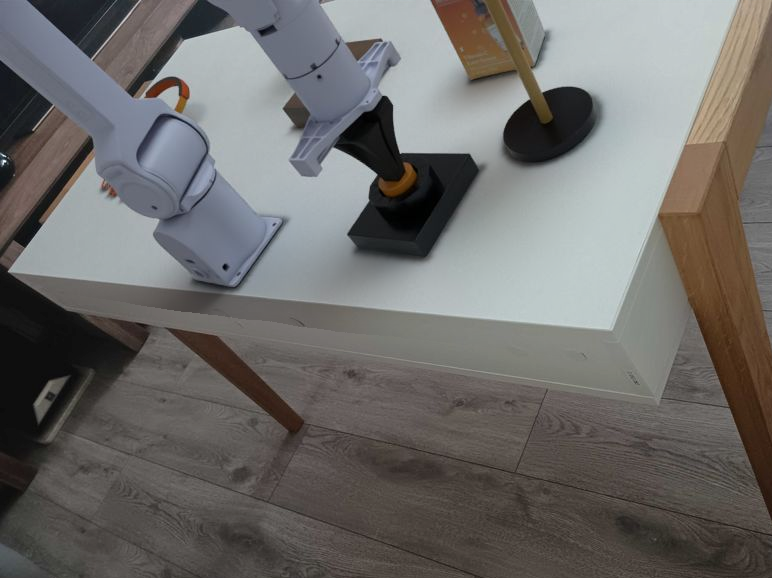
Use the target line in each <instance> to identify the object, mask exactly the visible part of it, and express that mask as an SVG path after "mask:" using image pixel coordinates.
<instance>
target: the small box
mask: <svg viewBox="0 0 772 578" xmlns="http://www.w3.org/2000/svg"><path fill="white" fill-rule="evenodd" d="M429 1H430V3H431V5H432V7H433V8H434V11H435V13H436V15H437V17H438V19H439V21H440V23H441V25H442V27H443V29H444V31H445V32H446V35H447V37H448V39H449V41H450V43H451V45H452V47H453V49H454V50H455V52H456V55H457V57H458V58H459V61H460V62H461V65H462V66H463V69H464V70H465V72H466V74H467V76H468V79H469V80H476V79H479V78H484V77H488V76H491V75H492V76H493V75H496V74H502V73H506V72H510V71H517V70H516V68H515V66H514V64H513V62H512V60H511V57H510V55H509V53H508V51H507V49H506V47H505V45H504V43H503V40H502V38H501V36H500V34H499V32H498V30H497V28H496V26H495V23H494V21H493V19H492V17H491V15H490V13H489V11H488V8H487V6H486V4H485V2H484V0H429ZM500 1H501V3H502V6H503V8H504V10H505V12H506V14H507V17H508V19H509V21H510V23H511V25H512V28H513V30H514V32H515V34H516V37H517V39H518V41H519V43H520V45H521V48H522V50H523V52H524V54H525V56H526V59H527V61H528V63H529V65H530V67H531V68H532V67H535V65H536V63H537V60H538V58H539V57H538V56H539V53H540V50H541V49H542V45H543V42H544V39H545V36H546V30H545V28H544V25H543V23H542V21H541V18H540V15H539V13H538V10H537V8H536V5H535V3H534V1H533V0H500Z"/></svg>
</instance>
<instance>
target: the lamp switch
mask: <svg viewBox="0 0 772 578" xmlns="http://www.w3.org/2000/svg"><path fill="white" fill-rule="evenodd" d="M403 164H404V167H405V170H406V172H405V174H404V175H403V177H402V179H401V180H400V181H399V182H392V181H384V180H383V179H382V178H381V177H380V179H379V187H380V189H381V190H382V192H383V193H384V194H385V196H386V197H394V196H397V195H400V194H402V193H403V192H405V191H406V190H407V189H408V188H410V187H411V186H412V185H413V183H414V182H415V180H416V178H417V176H418V175H417V174H416V172H415V171H414V169H413V168H412V166H411V165H410V164H409V163H406V162H403Z"/></svg>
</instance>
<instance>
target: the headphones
mask: <svg viewBox="0 0 772 578" xmlns="http://www.w3.org/2000/svg"><path fill="white" fill-rule="evenodd" d="M173 87H178V97H179V98H178V100H177V103H176V106H175V107H174V108H173V110H175V111H176V112H178V113H180V114H182V115H183V112H184V110H185V107H186V105H187V102H188V100H190V97H191V96H190V95H191V91H190V86H189V85H188V84H187V82H185V81H184V80H183V79H181V78H179V77H177V76H166V77H164V78H162V79H159V80H158V81H157V82H154V84H153V85H151V86H150V87H149V88H148V89H147V90H146V92H145V95H144V97H143V98H159V96H160V95H161V94H163V92H165V91H166V90H168V89H170V88H173ZM105 182H106V181H105V180H104V179H102V182H101V189H106V188H108V187H110V189H109V191H108V194H109V195H112V196H113V197H115V196H116V195H117V194H116V192H115V191H114V189H113V188H112V187H111V186H110V185H109V183H107V182H106V185H105V186H104V184H105Z"/></svg>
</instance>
